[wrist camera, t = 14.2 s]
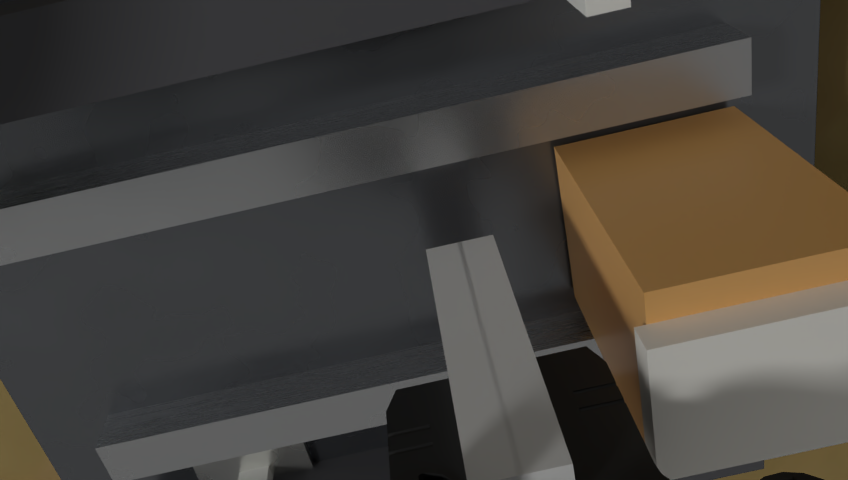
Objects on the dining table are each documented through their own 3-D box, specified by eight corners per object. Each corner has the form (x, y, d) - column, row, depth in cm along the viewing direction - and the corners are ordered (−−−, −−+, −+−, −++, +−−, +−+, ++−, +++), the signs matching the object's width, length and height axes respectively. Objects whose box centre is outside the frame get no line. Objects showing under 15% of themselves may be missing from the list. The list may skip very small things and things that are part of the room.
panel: (-171, 2, 16) (-260, 35, 14) (788, -225, 16) (867, -233, 13) (129, 528, 24) (104, 607, 22) (779, 387, 23) (827, 452, 21)
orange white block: (544, 148, 17) (644, 317, 11) (743, 103, 17) (944, 251, 11) (566, 298, 19) (660, 508, 13) (744, 258, 19) (917, 452, 13)
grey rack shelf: (-110, 6, 15) (-178, 34, 13) (721, -191, 14) (778, -192, 13) (180, 551, 22) (165, 620, 20) (734, 431, 22) (771, 491, 20)
